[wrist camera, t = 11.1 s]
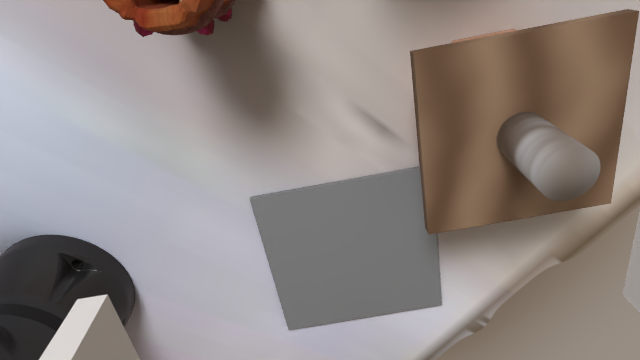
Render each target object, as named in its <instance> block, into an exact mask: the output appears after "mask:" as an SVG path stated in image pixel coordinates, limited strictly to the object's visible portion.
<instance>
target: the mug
mask: <svg viewBox="0 0 640 360" xmlns="http://www.w3.org/2000/svg"><path fill="white" fill-rule="evenodd" d="M103 1H104V2H105V3H106V4H107V6H108V7H109V8H110V9H112V10H114V11H115V12H117V13H119V15H120V16H121V17H122V18H123V19H125V20H133V21H134V27H135V29H136V31H137V32H138V33H139V34H140V35H141V36H143V37H144V36H147V35H151V34H152V33H153V32H157V33H160V34H165V35H183V34H188V33H191V32H195V31H197V32H199V33H200V34H204V35H209V34H212V33H213V30H214V20H213V18H216V17H217V18H218V19H219V20H221V21H224V22H225V21H228V20H229V19H231V15H232V9H231V8H230V7H231V6H232V4H233V3H234V1H235V0H103Z"/></svg>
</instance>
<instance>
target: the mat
mask: <svg viewBox="0 0 640 360" xmlns="http://www.w3.org/2000/svg"><path fill="white" fill-rule="evenodd" d="M250 201H251V205H252V208H253V212H254V215H255V218H256V222H257V225H258V228H259V232H260V235H261V238H262V242H263V245H264V249H265V252H266V255H267V259H268V262H269V265H270V269H271V272H272V276H273V279H274V282H275V286H276V289H277V292H278V296H279V299H280V302H281V306H282V309H283V313H284V316H285V319H286V323H287V326H288V329H289V330H293V329H299V328H305V327H311V326H317V325H323V324H330V323H336V322H342V321H348V320H354V319H360V318H366V317H372V316H378V315H384V314H390V313H397V312H403V311H409V310H415V309H421V308H427V307H433V306H439V305H442V301H441V286H440V272H439V258H438V244H437V233H435V234H429V235H428V233H427V230H426V228H425V221H424V209H423V197H422V186H421V174H420V167H415V168H409V169H404V170H398V171H392V172H387V173H381V174H376V175H370V176H365V177H359V178H354V179H348V180H342V181H337V182H331V183H326V184H320V185H315V186H309V187H303V188H298V189H292V190H287V191H281V192H276V193H270V194H265V195H259V196H253V197H250Z"/></svg>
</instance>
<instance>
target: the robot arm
mask: <svg viewBox="0 0 640 360" xmlns="http://www.w3.org/2000/svg"><path fill="white" fill-rule="evenodd" d="M623 296H624V297H625V298H626V299H627V300H628V301H629V302H630V303H631V304H632V305H633V306H634V307H635V308H636V309H637V310H638V311H639V312H640V213H639V217H638V222H637V228H636V232H635V237H634V242H633V247H632V251H631V256H630V261H629V266H628V271H627V276H626V280H625V285H624V290H623ZM134 303H135V292H134V287H133V284H132V281H131V279H130V277H129V275H128V274H127V272H126V271H125V269H124V268H123V267H122V266H121V264H120V263H119V262H118V261H117V260H116V259H114V258H113V257H112V256H111V255H110V254H108V253H107V252H105V251H104V250H102V249H100V248H99V247H97V246H95V245H93V244H91V243H88V242H86V241H83V240H80V239H76V238H73V237H68V236H61V235H40V236H34V237H30V238H26V239H24V240H21V241H19V242H17V243H15V244H14V245H12V246H11V247H10V248H8V249H7V250H6V251H5V252H4V253H3V254H2V255H1V256H0V360H140V358H139V356H138V354H137V352H136V350H135V348H134V346H133V344H132V342H131V340H130V338H129V336H128V334H127V332H126V330H125V328H124V326H125V325H126V323H127V321H128V319H129V316H130V314H131V312H132V310H133V307H134Z"/></svg>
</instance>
